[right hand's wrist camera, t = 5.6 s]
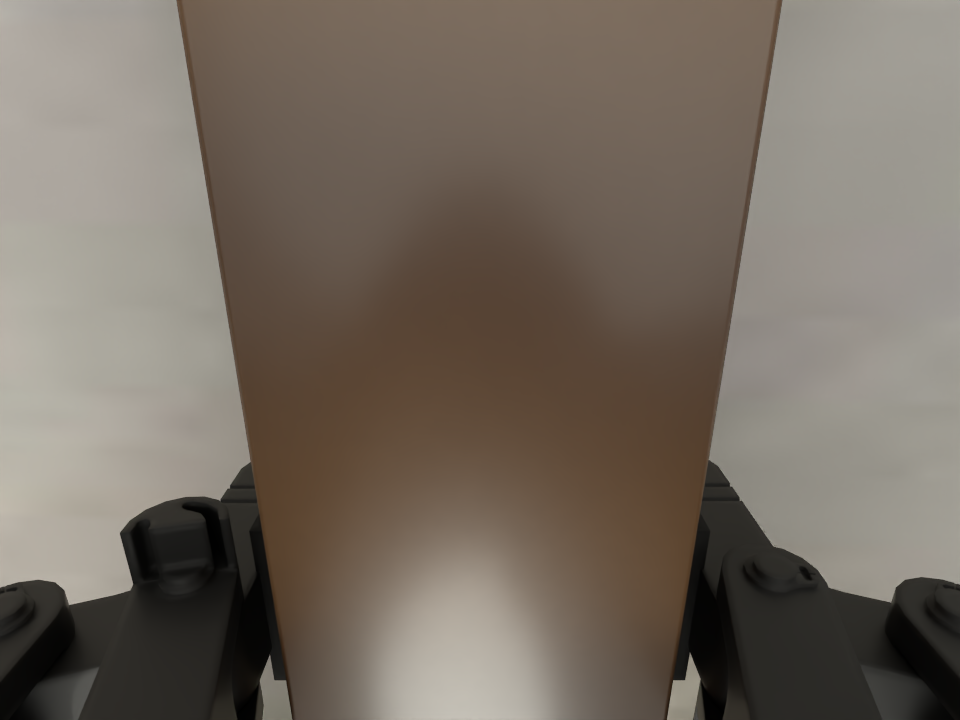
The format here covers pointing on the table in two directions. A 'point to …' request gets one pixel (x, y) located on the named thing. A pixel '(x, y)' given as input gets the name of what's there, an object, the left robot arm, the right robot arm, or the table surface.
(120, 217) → the table surface
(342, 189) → the bar
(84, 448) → the table surface
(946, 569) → the table surface
